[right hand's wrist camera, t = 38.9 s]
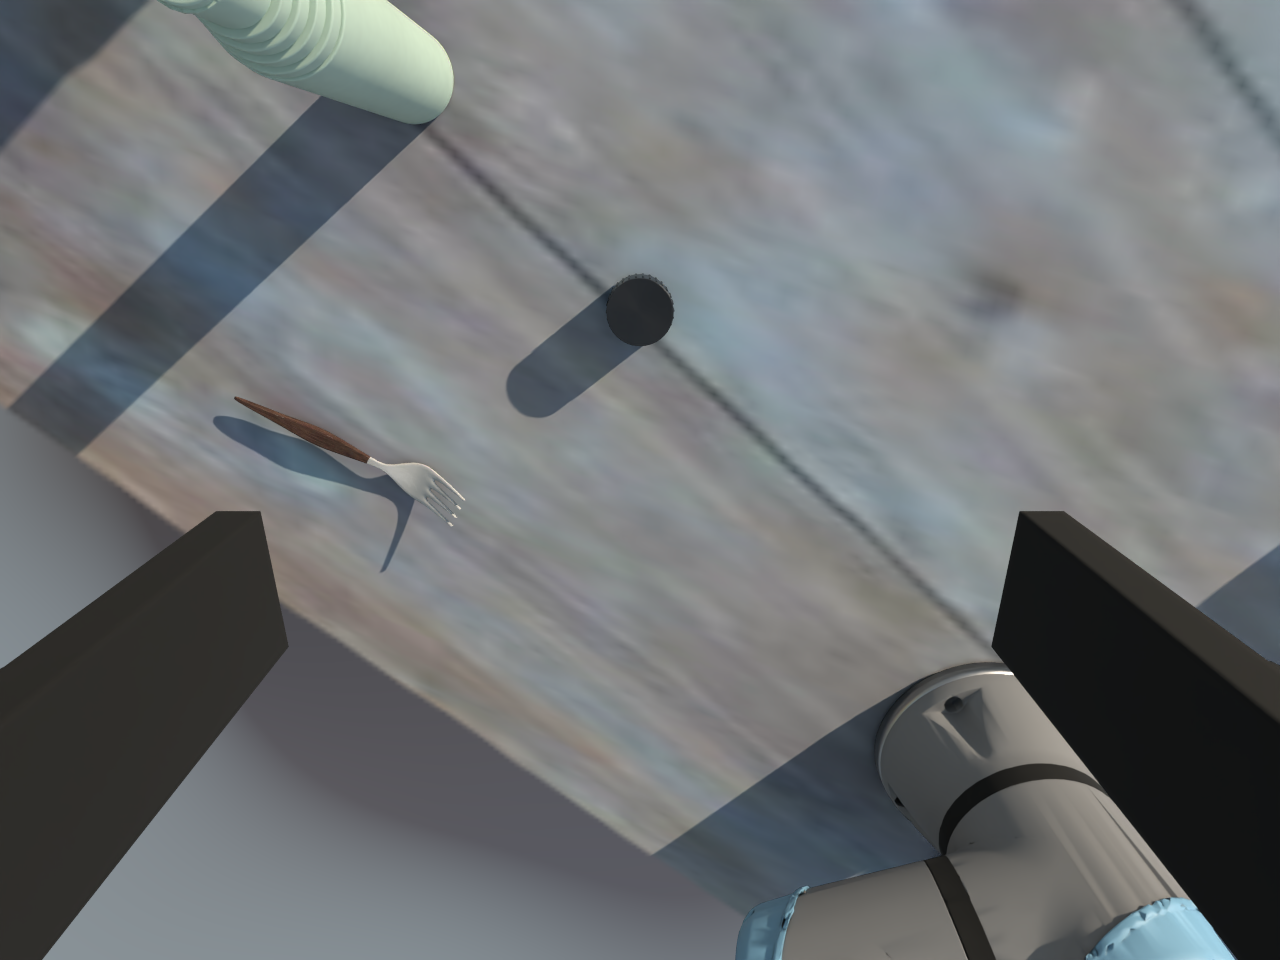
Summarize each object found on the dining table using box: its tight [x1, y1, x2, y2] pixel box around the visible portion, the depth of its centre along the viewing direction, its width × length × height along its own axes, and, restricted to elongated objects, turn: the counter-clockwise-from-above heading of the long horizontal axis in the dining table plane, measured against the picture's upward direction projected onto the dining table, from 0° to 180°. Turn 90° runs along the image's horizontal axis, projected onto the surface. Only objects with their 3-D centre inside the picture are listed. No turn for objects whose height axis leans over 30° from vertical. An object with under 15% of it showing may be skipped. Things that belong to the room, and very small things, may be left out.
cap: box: [606, 273, 674, 346], centre depth 44 cm, size 4×4×2 cm
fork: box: [234, 397, 465, 527], centre depth 47 cm, size 3×16×2 cm, turn 62°
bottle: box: [157, 0, 453, 124], centre depth 30 cm, size 5×5×22 cm
